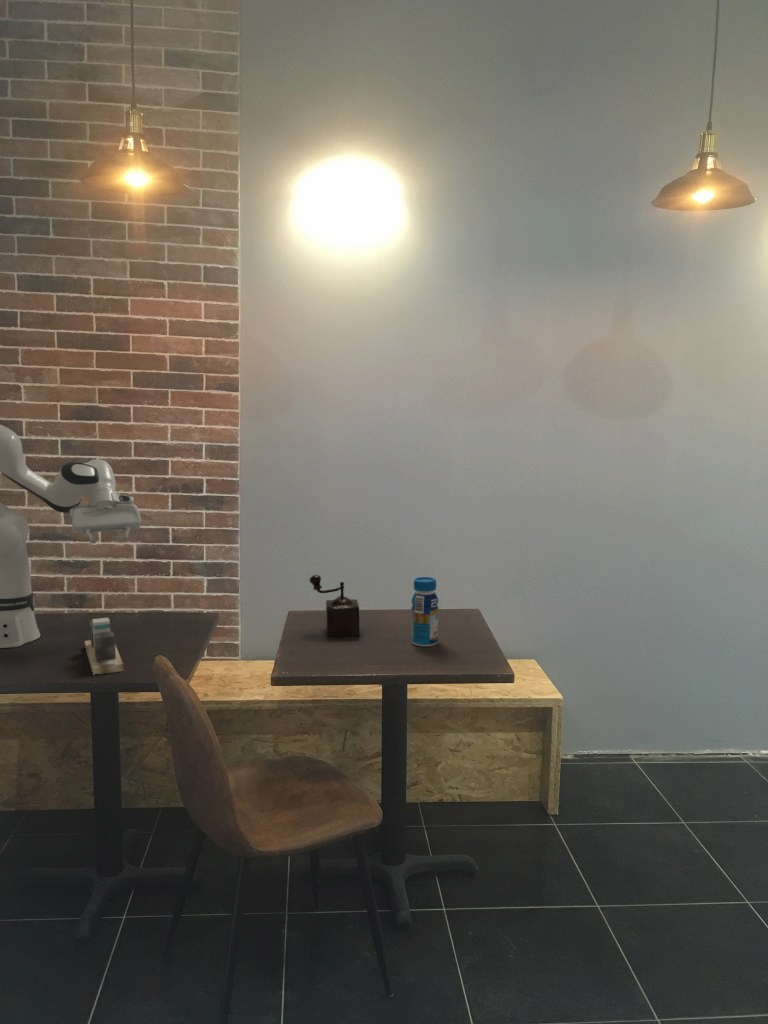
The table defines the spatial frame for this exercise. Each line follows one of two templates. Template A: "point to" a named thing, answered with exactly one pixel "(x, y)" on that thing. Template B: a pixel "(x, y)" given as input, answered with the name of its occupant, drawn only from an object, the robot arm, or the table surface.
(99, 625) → the block
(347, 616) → the manual coffee grinder
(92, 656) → the rail board
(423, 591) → the beverage bottle
